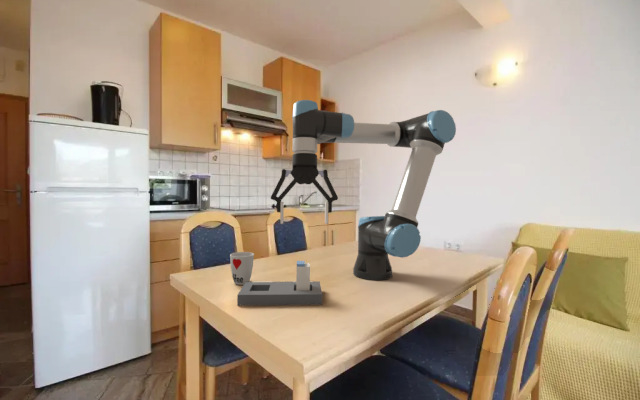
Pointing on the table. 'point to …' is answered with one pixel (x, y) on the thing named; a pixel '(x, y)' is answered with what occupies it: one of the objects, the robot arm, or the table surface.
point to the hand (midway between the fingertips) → (304, 223)
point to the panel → (279, 294)
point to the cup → (241, 266)
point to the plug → (303, 276)
